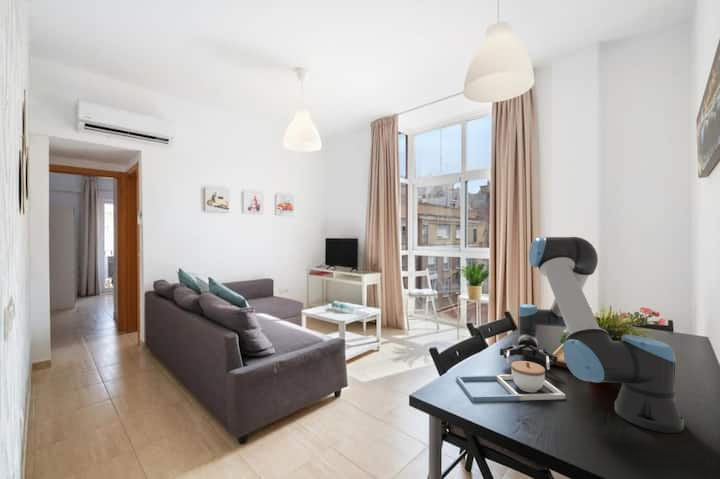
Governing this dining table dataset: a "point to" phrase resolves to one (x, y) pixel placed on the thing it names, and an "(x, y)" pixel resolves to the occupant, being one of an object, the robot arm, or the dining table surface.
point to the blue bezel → (483, 397)
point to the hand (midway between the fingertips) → (527, 362)
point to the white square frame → (555, 395)
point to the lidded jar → (528, 375)
